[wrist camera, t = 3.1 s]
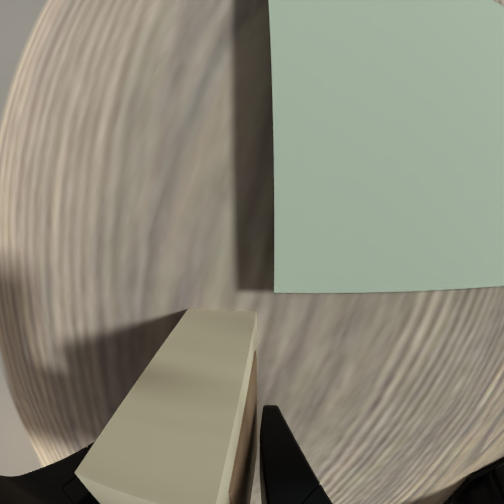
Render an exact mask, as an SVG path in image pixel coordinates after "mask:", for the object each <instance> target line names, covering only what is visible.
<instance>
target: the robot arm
mask: <svg viewBox="0 0 504 504" xmlns="http://www.w3.org/2000/svg"><path fill="white" fill-rule="evenodd" d="M94 443H95V442H93V443H92V444H90V445H88V446H87V447H85V448H83V449H81V450H79V451H78V452H76V453H74V454H72V455H70V456H68V457H66V458H64V459H62V460H60V461H58V462H55V463H53V464H51V465H48V466H46V467H43V468H40V469H38V470H35V471H32V472H30V473H27V474H24V475H20V476H13V477H7V476H0V504H100V503H99V502H98V501H97V499H96V498H95V497H94V496H93V495H92V494H91V492H90V491H89V490H88V489H87V488H86V487H85V485H84V484H83V483H82V482H81V480H80V479H79V478H78V477H77V475H76V474H75V471H76V470H77V468H78V467H79V465H80V464H81V462H82V461H83V459H84V458H85V456H86V455H87V453H88V452H89V450H90V449H91V447H92V446H93V444H94ZM319 484H320V483H319V481H318V479H317V477H316V476H315V474H314V472H313V470H312V469H311V467H310V465H309V463H308V461H307V460H306V458H305V456H304V454H303V452H302V451H301V449H300V447H299V445H298V443H297V441H296V440H295V438H294V436H293V434H292V432H291V430H290V428H289V427H288V425H287V423H286V421H285V419H284V417H283V415H282V413H281V411H280V409H279V408H278V406H276V405H265V406H264V407H263V413H262V421H261V428H260V485H261V501H262V504H332V502H331V500H330V499H329V497H328V496H327V494H326V493H325V491H324V489H323V488H322V486H321V485H319ZM445 504H504V460H502V461H501V462H499V463H497V464H495V465H493V466H491V467H488V468H486V469H484V470H482V471H480V472H478V473H476V474H474V475H472V476H471V477H470V478H468V479H467V481H466V482H465V483H464V484H463V485H462V486H461V487H460V489H459V490H458V491H457V492H456V493H455V494H454V495H453V496H452V497H451V498H450V499H449V500H448V501H447V502H446V503H445Z"/></svg>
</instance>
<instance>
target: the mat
mask: <svg viewBox="0 0 504 504" xmlns="http://www.w3.org/2000/svg"><path fill="white" fill-rule="evenodd" d="M268 1H269V20H270V42H271V67H272V99H273V141H274V293H368V292H404V291H429V290H449V289H465V288H480V287H494V286H504V7H503V6H502V5H500V4H498V3H496V2H495V1H493V0H268Z"/></svg>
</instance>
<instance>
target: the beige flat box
mask: <svg viewBox="0 0 504 504" xmlns="http://www.w3.org/2000/svg"><path fill="white" fill-rule="evenodd" d="M257 445H258V434H257V312H242V311H217V310H198V309H188V310H187V311H186V312H185V314H184V315H183V317H182V318H181V319H180V321H179V322H178V324H177V325H176V326H175V328H174V329H173V331H172V332H171V333H170V335H169V336H168V338H167V339H166V340H165V342H164V343H163V345H162V346H161V347H160V349H159V350H158V352H157V353H156V354H155V356H154V357H153V359H152V360H151V361H150V363H149V364H148V366H147V367H146V369H145V370H144V371H143V373H142V374H141V376H140V377H139V379H138V380H137V381H136V383H135V384H134V386H133V387H132V389H131V390H130V391H129V393H128V394H127V396H126V397H125V399H124V400H123V402H122V403H121V404H120V406H119V407H118V409H117V410H116V412H115V413H114V415H113V416H112V418H111V419H110V421H109V422H108V423H107V425H106V426H105V428H104V429H103V431H102V432H101V434H100V435H99V437H98V438H97V440H96V441H95V443H94V444H93V446H92V447H91V449H90V450H89V452H88V453H87V455H86V456H85V458H84V459H83V461H82V462H81V464H80V465H79V467H78V468H77V470H76V471H75V474H76V475H77V477H78V478H79V479H80V480H81V482H82V483H83V484H84V485H85V487H86V488H87V489H88V490H89V491H90V492H91V494H92V495H93V496H94V497H95V498H96V499H97V501H98V502H99V503H100V504H250V500H251V492H252V485H253V477H254V470H255V462H256V454H257Z"/></svg>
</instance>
